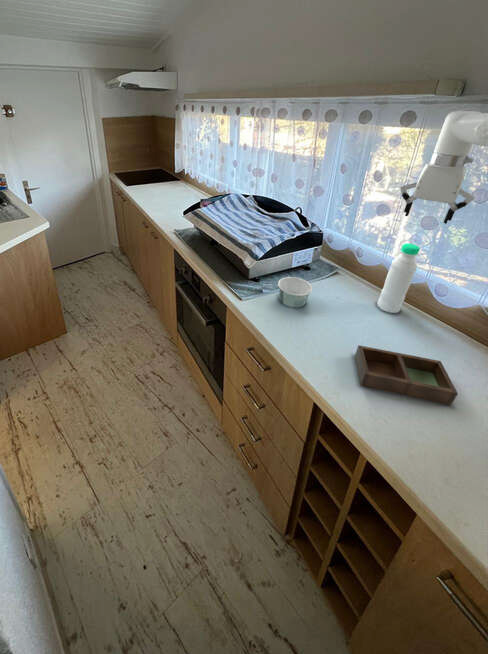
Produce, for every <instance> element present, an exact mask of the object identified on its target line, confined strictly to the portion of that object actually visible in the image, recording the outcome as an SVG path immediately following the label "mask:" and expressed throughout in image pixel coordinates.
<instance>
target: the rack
mask: <svg viewBox="0 0 488 654" xmlns="http://www.w3.org/2000/svg"><path fill="white" fill-rule="evenodd" d="M354 361H355V365H356V370H357V374H358V375H357V376H358V379H359V384H360V386H361V387H366V388H370V389H373V390H374V389H375V390H379V391H382V392H383V391H384V392H388V393H392V394H397V395H400V396H401V395H402V396H406V397H410V398H414V399H420V400H423V401H428V402H431V403H437V404H440V405H446V406H450V407H451V406H452V404H453V402H454V401H455V399H456V398H457V396H458V395H459V393H458V391H457V389H456V387H455V386H454V383H453V382H452V380H451V378H450V376H449V374H448V372H447V370H446V367H444V364H443V362H442V361H441V360H438V359H437V360H436V359H432V358H427V357H422V356H417V355H411V354H408V353H407V354H406V353H402V352H396V351H392V350H391V351H390V350H385V349H380V348H375V347H370V346H366V345H365V346H364V345H360V344H358V345H357V348H356V351H355V354H354Z"/></svg>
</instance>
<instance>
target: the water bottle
mask: <svg viewBox="0 0 488 654" xmlns="http://www.w3.org/2000/svg"><path fill="white" fill-rule="evenodd" d="M420 249H421V248H420V247H419V246H418V245H416V244H413V243H409V242H408V243H403V244H402V245H401V249H400V254H398V255H397V257H395V258H394V259H393V260H392V261H391V264H390V268H389V270H388V272H387V275H386V278H385V280H384V285H383V287H382V290H381V292H380V296H379V298H378V300H377V307H378V308H379V309H380V310H382V311H384V312H386V313H390V314H396V313H399V312H400V311H401V309H402V306H403V302H404V301H405V298H406V295H407V293H408V291H409V288H410V287H411V284H412V282H413V279H414V275H415V273H416V272H417V269H418V265H417V259H416V256H418V254H419V253H420Z"/></svg>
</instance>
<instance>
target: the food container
mask: <svg viewBox="0 0 488 654" xmlns="http://www.w3.org/2000/svg"><path fill="white" fill-rule="evenodd" d="M277 287H278V290H279V292H278V293H279V300H280V302H281V304H283V305H284V306H287V307H291V308H302V307H303V306H305V304H306V302H307V300H308V298H309V296H310V294H311V293H312V291H313V286H312V285H311V283H309V282H308V281H307V280H305V279H303V278H300V277H296V276H286V277H283V278H280V279H279V280H278V282H277Z"/></svg>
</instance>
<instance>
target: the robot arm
mask: <svg viewBox="0 0 488 654" xmlns="http://www.w3.org/2000/svg"><path fill="white" fill-rule="evenodd" d="M473 145H476V146H481V147H488V112H483V113H482V112H481V111H477V110H476V111H474V110H455V111H451V112H449V113H448V114H447V115H446V116H445V120H444V122H443V125H442V127H441V129H440V133H439V136H438V138H437V141H436V144H435V147H434V150H433V152H432V155H431V158H430V160H429V162H426V163H425V165H424V167H423V169H422V170H421V172H420V174H419V178H418V180H417V182H412V183H409V184H404V185H401V186H400V193H401V196H402V198H403V200H404V201H405V203H406V204H405V206H404V209H403V213H405V214H404V217H409V215H410V212H411V209H412V206H413V203H414V201H415V200H417V199H418V200H423V201H429V202H437V203H442V204H447V205H448V206H449V208H448V210H447V213H446V214H445V217H444V220H443V224H445V225H446V224H448V221H450V222H451V221H452V219H453V217H454V214H455V213H456V211H458V210H460V209H463V208H465V207H466V206H468V205H469V204H470V203H471V202H472V201H474V200H475V196H474V195H472V194H471V193H469V191H467V190H465V189H464V188H462V185H463V183H464V180H465V176H466V172H467V166H465V165H466V164H473V162H474V158H473V157H470V156H469V153H470V151H471V149H472V147H473ZM411 189H414V190H413V194H412V195H409V193H408V190H411ZM459 195H460V196H462V197H463V198H465V199H464V200H462V201H459V202H458V203H457V202H456V200H457V198H458V196H459Z"/></svg>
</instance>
